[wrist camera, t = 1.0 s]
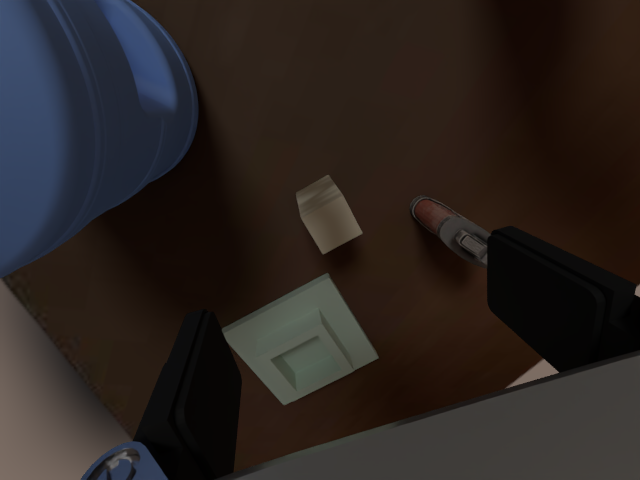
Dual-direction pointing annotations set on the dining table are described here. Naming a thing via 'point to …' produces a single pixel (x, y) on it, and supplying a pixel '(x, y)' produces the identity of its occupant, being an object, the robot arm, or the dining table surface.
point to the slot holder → (302, 340)
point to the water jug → (83, 116)
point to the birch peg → (327, 214)
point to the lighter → (452, 229)
